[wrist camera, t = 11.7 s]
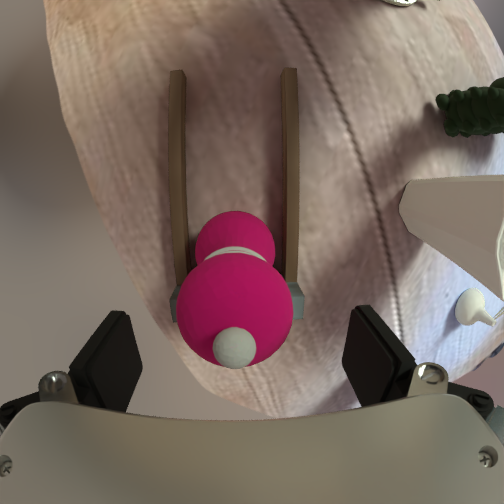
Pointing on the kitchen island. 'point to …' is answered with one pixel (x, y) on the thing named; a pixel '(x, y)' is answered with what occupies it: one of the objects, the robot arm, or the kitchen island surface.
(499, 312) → the tweezers
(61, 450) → the robot arm
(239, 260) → the pepper mill
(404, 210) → the cup
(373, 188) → the kitchen island surface
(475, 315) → the garlic bulb
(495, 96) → the toy figurine
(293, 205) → the guide channel
